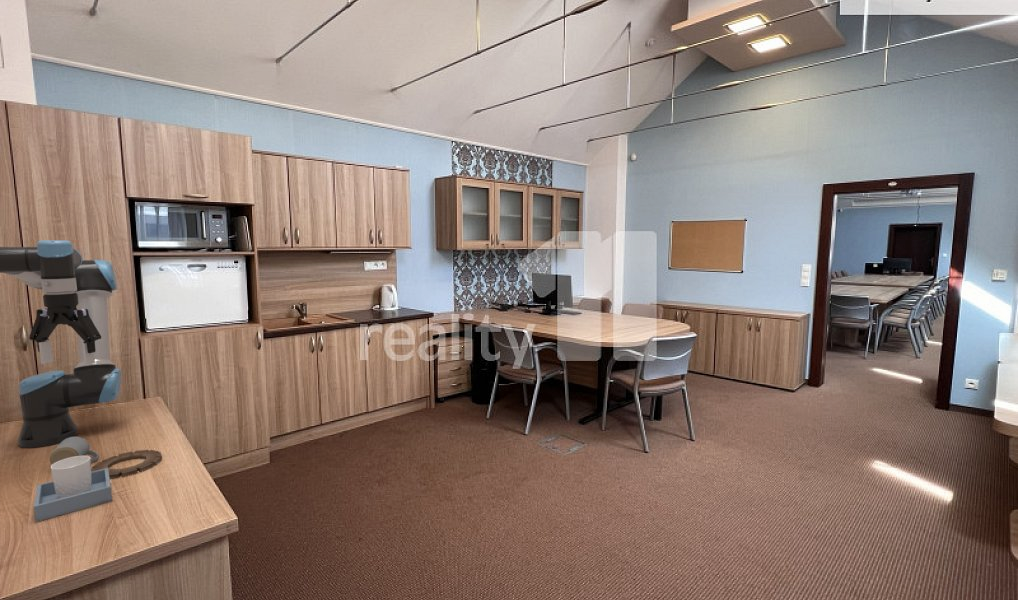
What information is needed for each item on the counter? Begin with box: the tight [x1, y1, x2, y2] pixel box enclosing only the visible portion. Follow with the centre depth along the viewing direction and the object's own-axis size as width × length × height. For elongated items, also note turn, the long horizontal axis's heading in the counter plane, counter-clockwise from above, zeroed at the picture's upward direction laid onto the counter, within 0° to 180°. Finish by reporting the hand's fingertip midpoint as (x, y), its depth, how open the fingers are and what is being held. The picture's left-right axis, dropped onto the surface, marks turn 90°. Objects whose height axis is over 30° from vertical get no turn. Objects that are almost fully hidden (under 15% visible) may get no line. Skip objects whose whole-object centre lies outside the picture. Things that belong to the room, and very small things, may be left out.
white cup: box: [50, 455, 92, 499], centre depth 128 cm, size 8×8×10 cm
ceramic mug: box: [49, 436, 100, 465], centre depth 149 cm, size 11×8×8 cm
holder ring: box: [91, 449, 163, 480], centre depth 148 cm, size 17×17×1 cm
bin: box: [33, 468, 113, 523], centre depth 128 cm, size 15×15×4 cm
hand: (68, 363), depth 144 cm, fingers open, 13 cm apart
